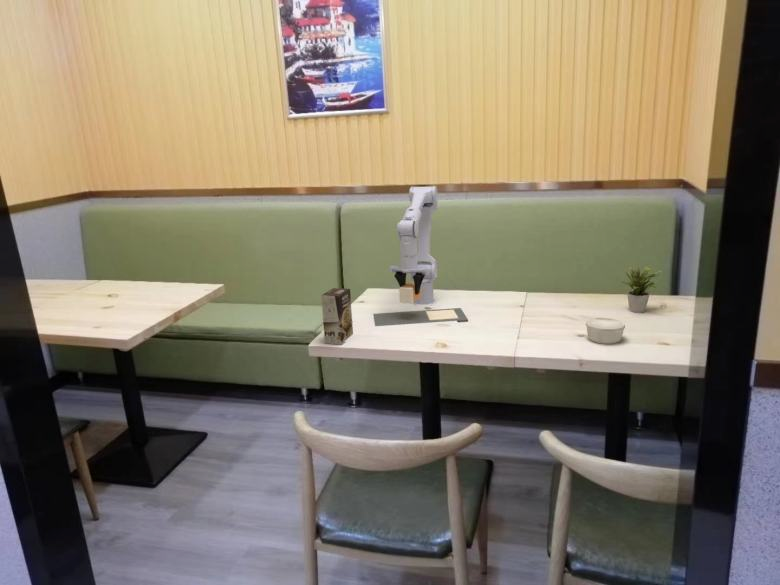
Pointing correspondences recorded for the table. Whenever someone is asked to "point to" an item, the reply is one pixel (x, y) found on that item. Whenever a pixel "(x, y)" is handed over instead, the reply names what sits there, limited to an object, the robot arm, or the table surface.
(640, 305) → the house plant
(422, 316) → the mat
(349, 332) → the coffee box
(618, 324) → the ramekin
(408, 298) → the card box
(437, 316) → the pad
